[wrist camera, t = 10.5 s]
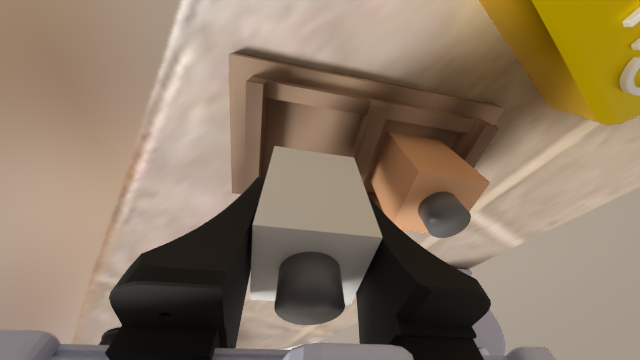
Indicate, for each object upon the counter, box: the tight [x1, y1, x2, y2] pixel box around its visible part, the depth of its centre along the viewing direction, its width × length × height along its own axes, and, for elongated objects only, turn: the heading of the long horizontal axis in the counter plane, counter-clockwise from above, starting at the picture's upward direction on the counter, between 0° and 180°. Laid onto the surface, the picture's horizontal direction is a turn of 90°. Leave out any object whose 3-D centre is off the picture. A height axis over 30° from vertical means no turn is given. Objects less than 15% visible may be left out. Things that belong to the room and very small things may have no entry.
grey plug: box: [250, 146, 383, 325], centre depth 11 cm, size 4×4×7 cm
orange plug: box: [370, 131, 490, 238], centre depth 16 cm, size 4×4×7 cm
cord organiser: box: [229, 53, 505, 213], centre depth 18 cm, size 20×11×4 cm, turn 79°
